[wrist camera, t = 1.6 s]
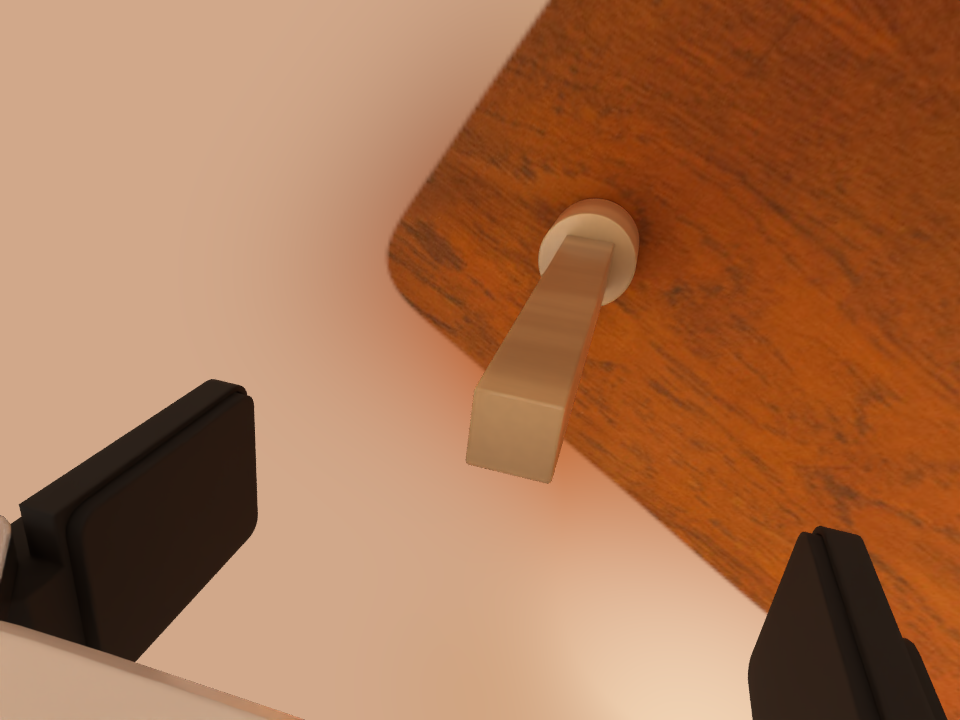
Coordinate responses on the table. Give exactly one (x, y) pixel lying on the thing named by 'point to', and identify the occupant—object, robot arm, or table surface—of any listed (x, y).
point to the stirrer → (551, 342)
